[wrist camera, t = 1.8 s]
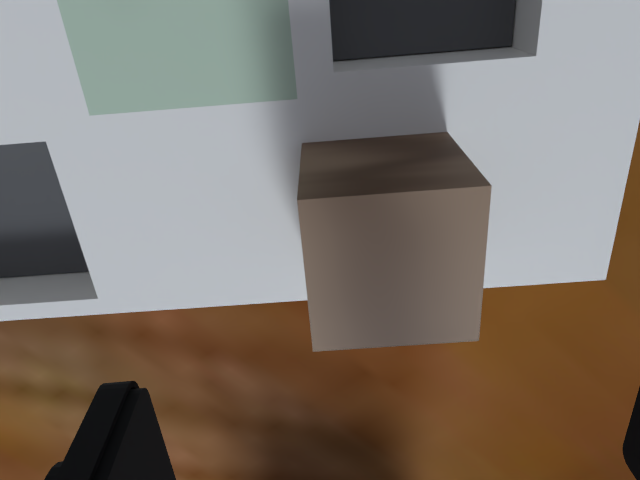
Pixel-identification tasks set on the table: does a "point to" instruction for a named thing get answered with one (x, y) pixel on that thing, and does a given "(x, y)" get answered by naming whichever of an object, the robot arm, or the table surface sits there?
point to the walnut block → (392, 241)
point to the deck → (292, 136)
